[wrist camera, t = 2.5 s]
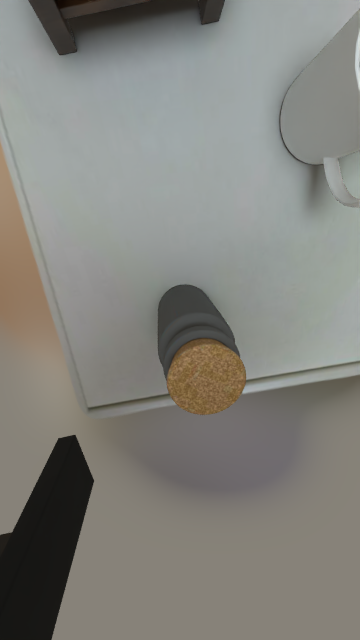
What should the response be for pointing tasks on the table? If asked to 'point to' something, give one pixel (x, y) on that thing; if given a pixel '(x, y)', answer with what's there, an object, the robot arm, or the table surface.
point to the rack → (62, 3)
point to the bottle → (198, 352)
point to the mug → (327, 108)
